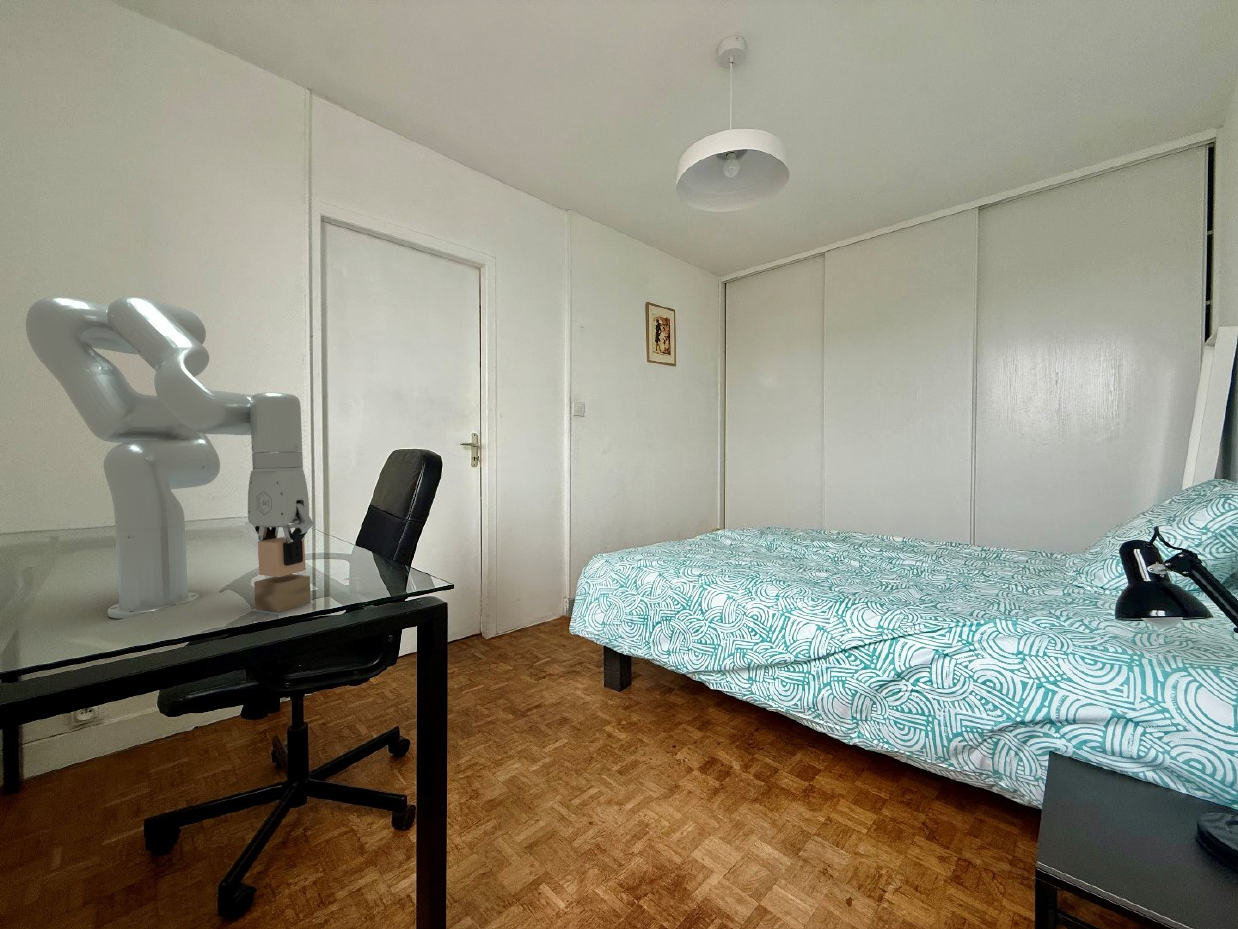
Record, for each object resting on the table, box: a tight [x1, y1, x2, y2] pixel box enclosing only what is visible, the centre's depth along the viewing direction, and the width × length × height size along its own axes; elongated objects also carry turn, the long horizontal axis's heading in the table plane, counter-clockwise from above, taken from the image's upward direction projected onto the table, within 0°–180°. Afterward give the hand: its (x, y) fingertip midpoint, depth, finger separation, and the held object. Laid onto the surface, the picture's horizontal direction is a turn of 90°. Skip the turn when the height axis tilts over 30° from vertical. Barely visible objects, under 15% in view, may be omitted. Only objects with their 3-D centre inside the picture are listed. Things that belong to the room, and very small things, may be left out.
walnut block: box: [253, 573, 312, 613], centre depth 91 cm, size 6×6×5 cm
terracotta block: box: [257, 536, 307, 577], centre depth 91 cm, size 5×5×6 cm
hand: (282, 561), depth 91 cm, fingers closed on terracotta block, 4 cm apart
